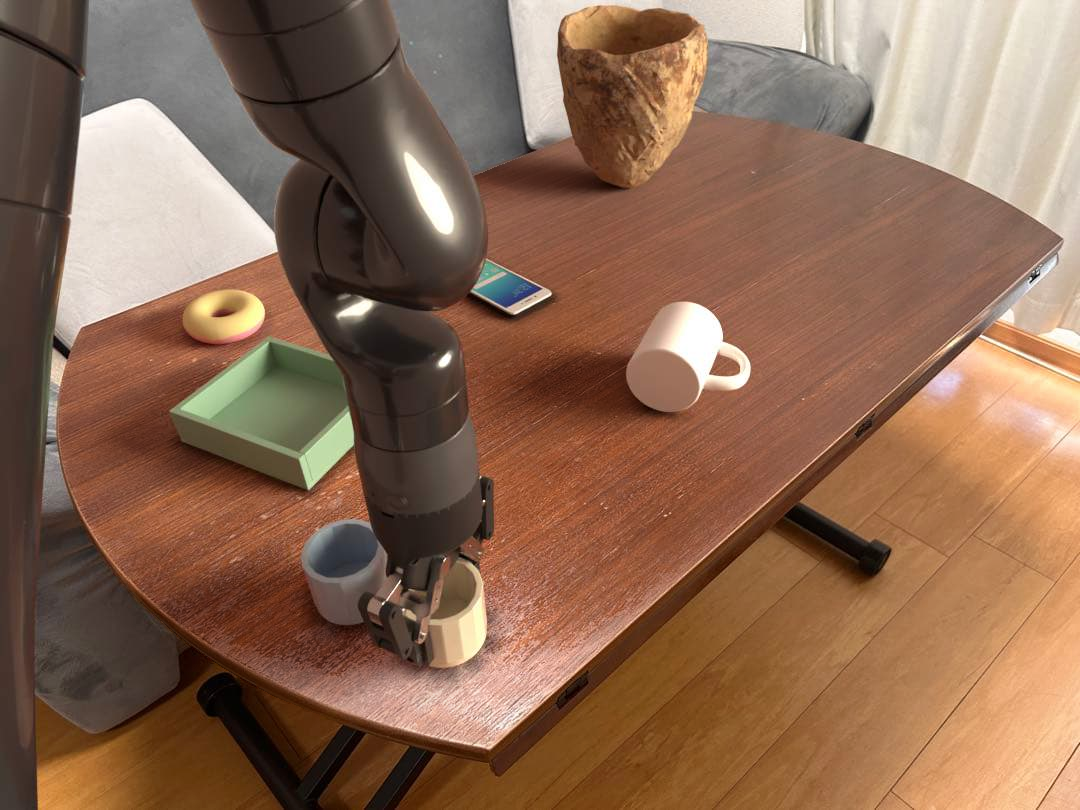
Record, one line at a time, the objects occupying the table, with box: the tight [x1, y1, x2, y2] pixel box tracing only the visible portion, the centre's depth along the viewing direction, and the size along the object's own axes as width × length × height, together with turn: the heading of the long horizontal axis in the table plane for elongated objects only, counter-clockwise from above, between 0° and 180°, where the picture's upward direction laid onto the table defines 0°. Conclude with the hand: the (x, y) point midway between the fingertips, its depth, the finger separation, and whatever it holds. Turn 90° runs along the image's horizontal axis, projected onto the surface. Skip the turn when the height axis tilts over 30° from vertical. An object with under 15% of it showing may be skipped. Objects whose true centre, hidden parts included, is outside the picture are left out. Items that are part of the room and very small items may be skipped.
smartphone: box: [467, 258, 552, 319], centre depth 100 cm, size 8×1×15 cm
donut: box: [182, 289, 266, 345], centre depth 94 cm, size 10×5×9 cm
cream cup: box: [405, 557, 488, 669], centre depth 58 cm, size 6×6×6 cm
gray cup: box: [300, 518, 387, 626], centre depth 61 cm, size 6×6×6 cm
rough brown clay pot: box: [556, 4, 709, 189], centre depth 119 cm, size 22×22×25 cm
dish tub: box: [168, 336, 354, 491], centre depth 79 cm, size 15×17×4 cm
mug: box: [625, 301, 751, 413], centre depth 81 cm, size 12×10×8 cm
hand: (444, 622), depth 59 cm, fingers closed on cream cup, 6 cm apart
